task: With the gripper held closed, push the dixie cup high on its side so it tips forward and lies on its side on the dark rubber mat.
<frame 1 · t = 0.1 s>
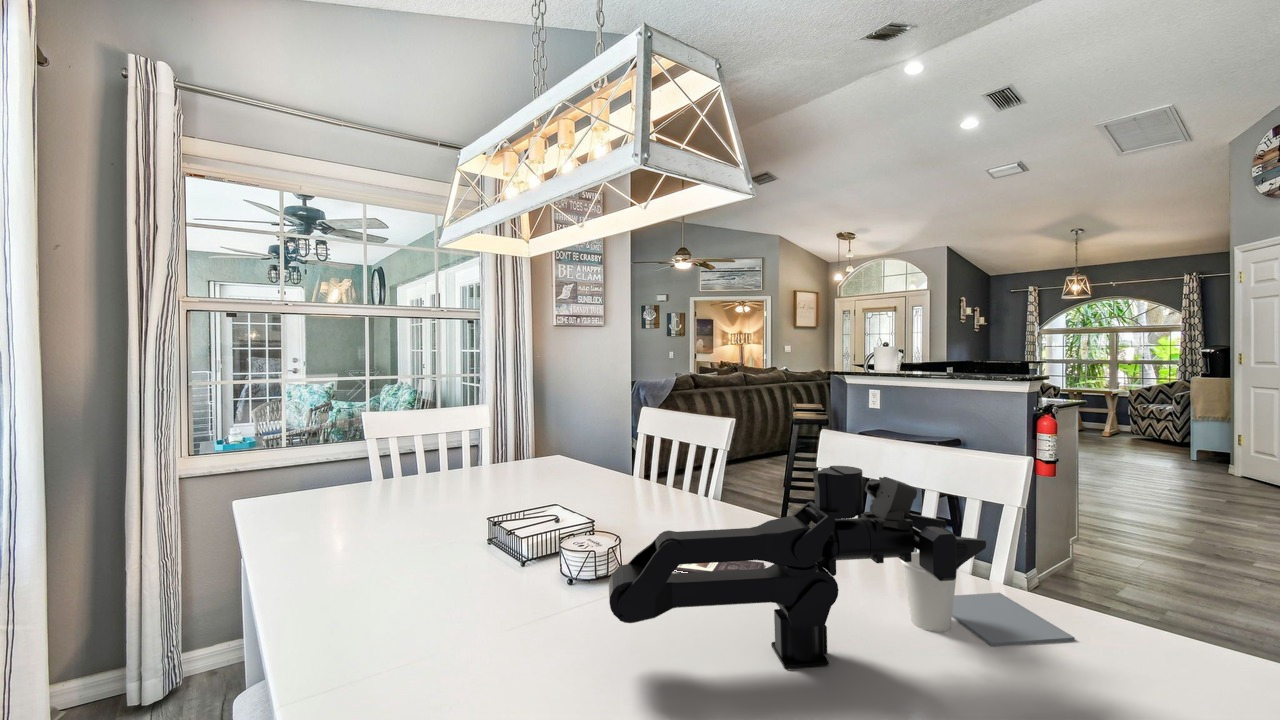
hand: (964, 533, 85), 17 cm above the table, tool horizontal, fingers open, 9 cm apart
dixie cup: (930, 624, 92), on the table
chocolate bar: (716, 571, 118), on the table
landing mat: (995, 618, 93), on the table
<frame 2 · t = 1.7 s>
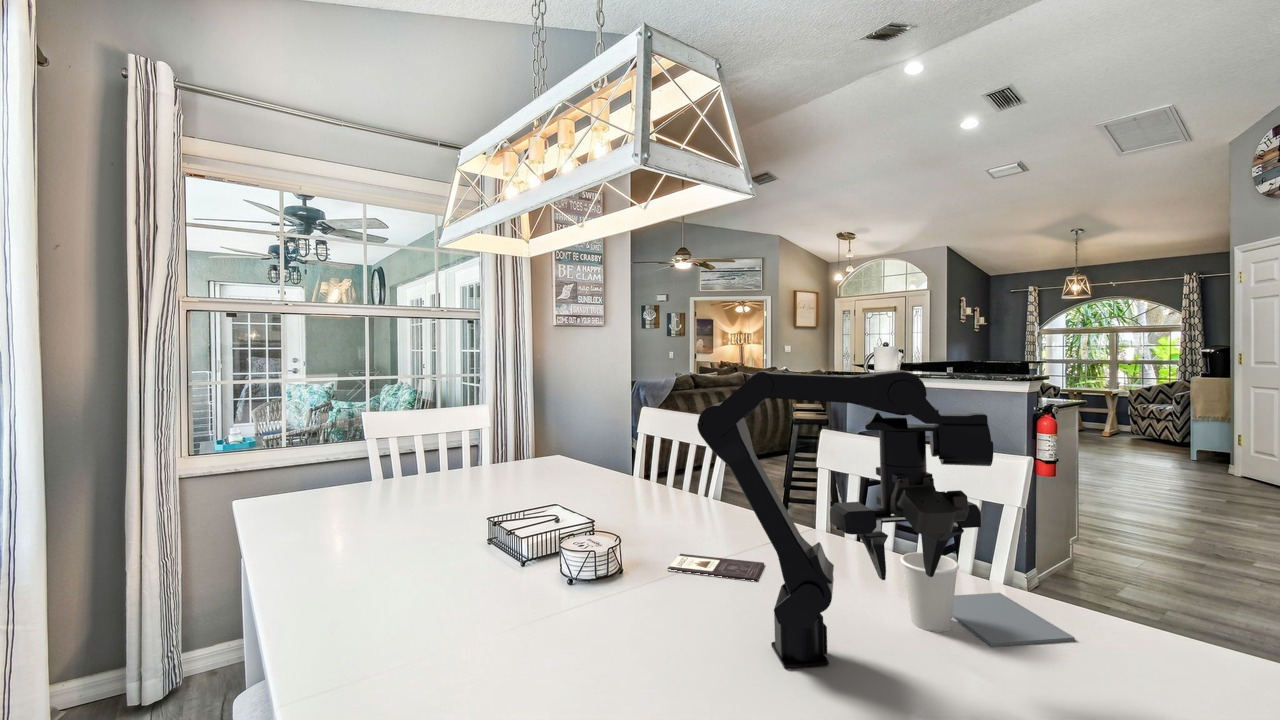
hand: (905, 577, 78), 13 cm above the table, tool pointing down, fingers open, 6 cm apart
nothing on the table moved.
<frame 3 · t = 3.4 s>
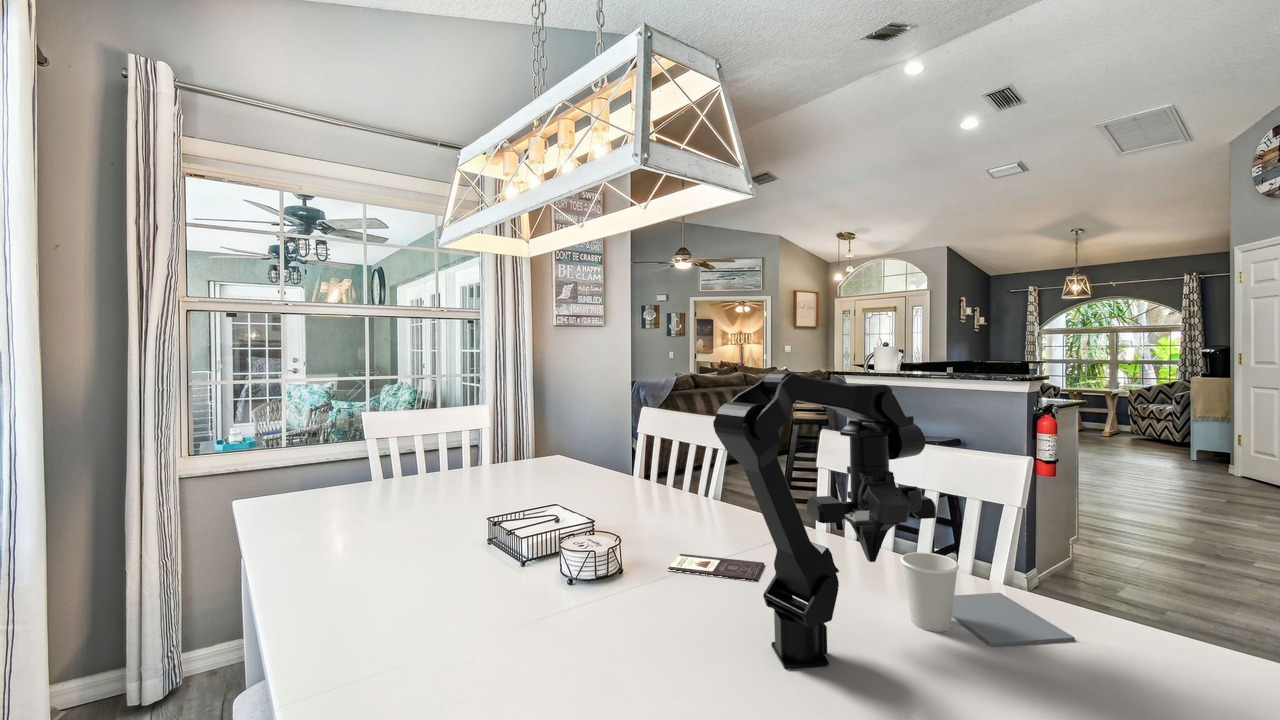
hand: (871, 561, 91), 10 cm above the table, tool pointing down, fingers closed
nothing on the table moved.
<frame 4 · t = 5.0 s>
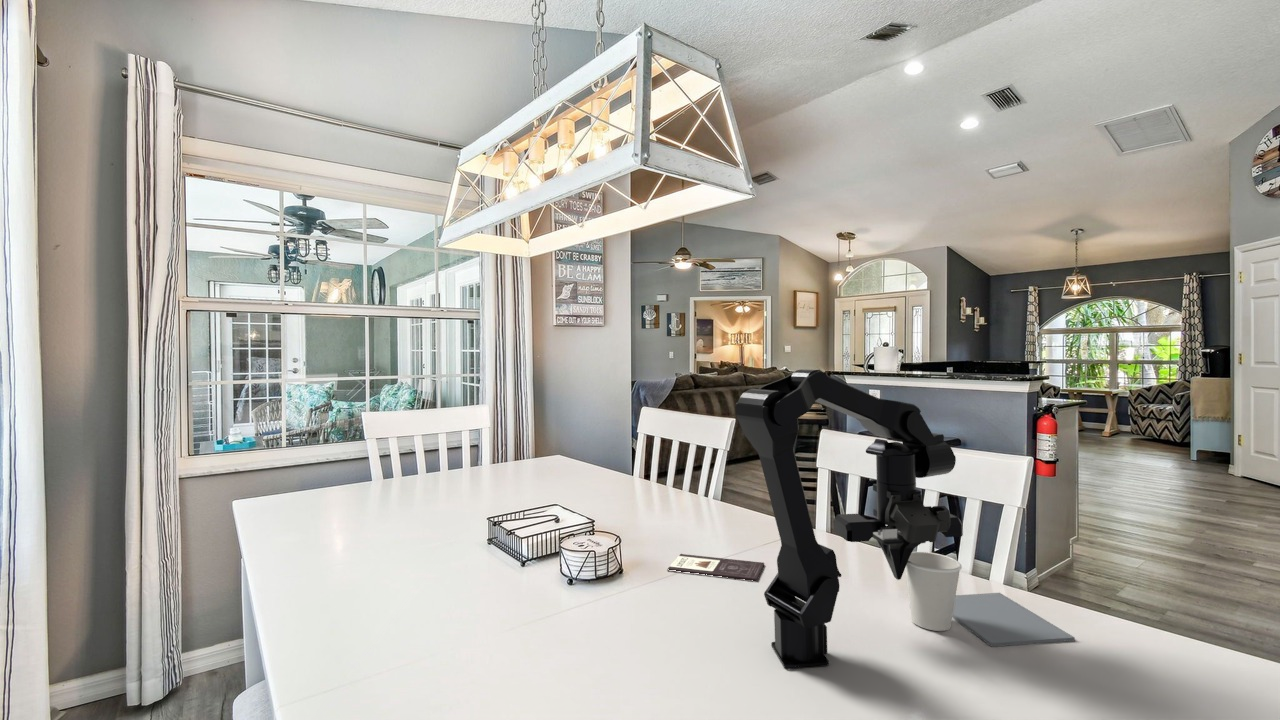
hand: (897, 578, 92), 7 cm above the table, tool pointing down, fingers closed
dixie cup: (930, 623, 92), on the table, touching gripper
everything else where it was.
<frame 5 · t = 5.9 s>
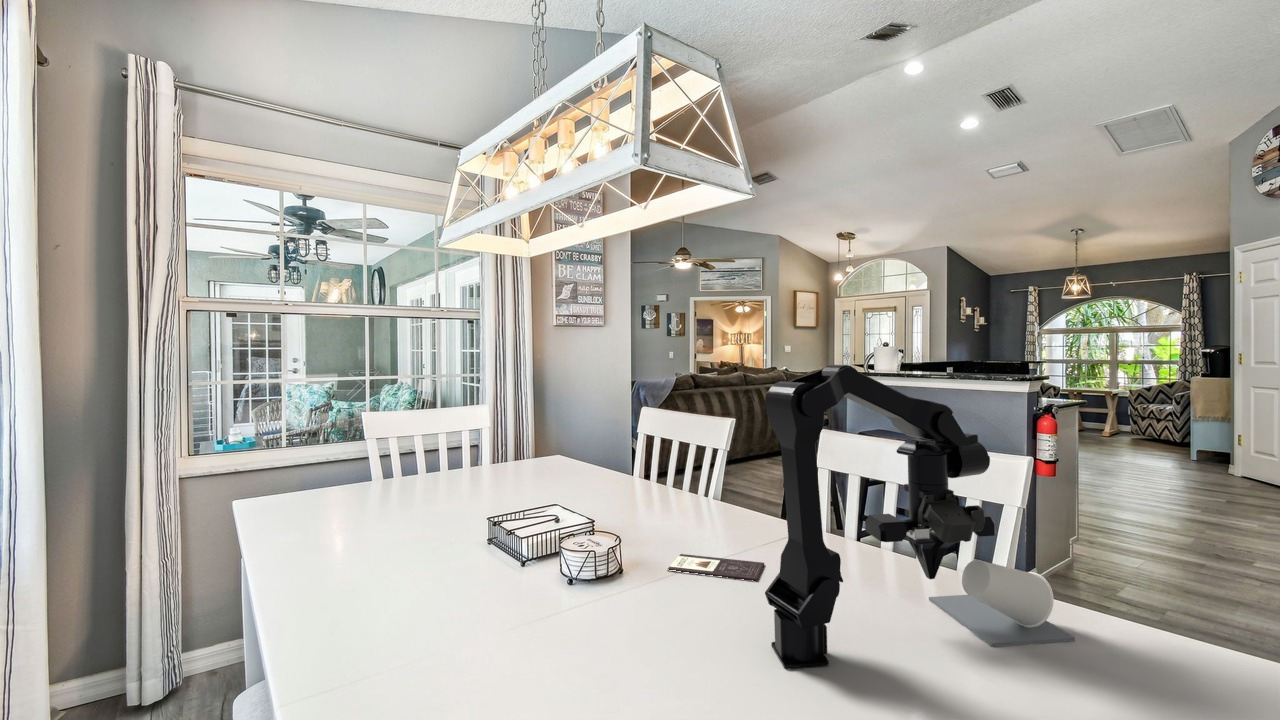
hand: (930, 578, 92), 7 cm above the table, tool pointing down, fingers closed
dixie cup: (974, 577, 89), point 8 cm above the table, touching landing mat
everything else where it was.
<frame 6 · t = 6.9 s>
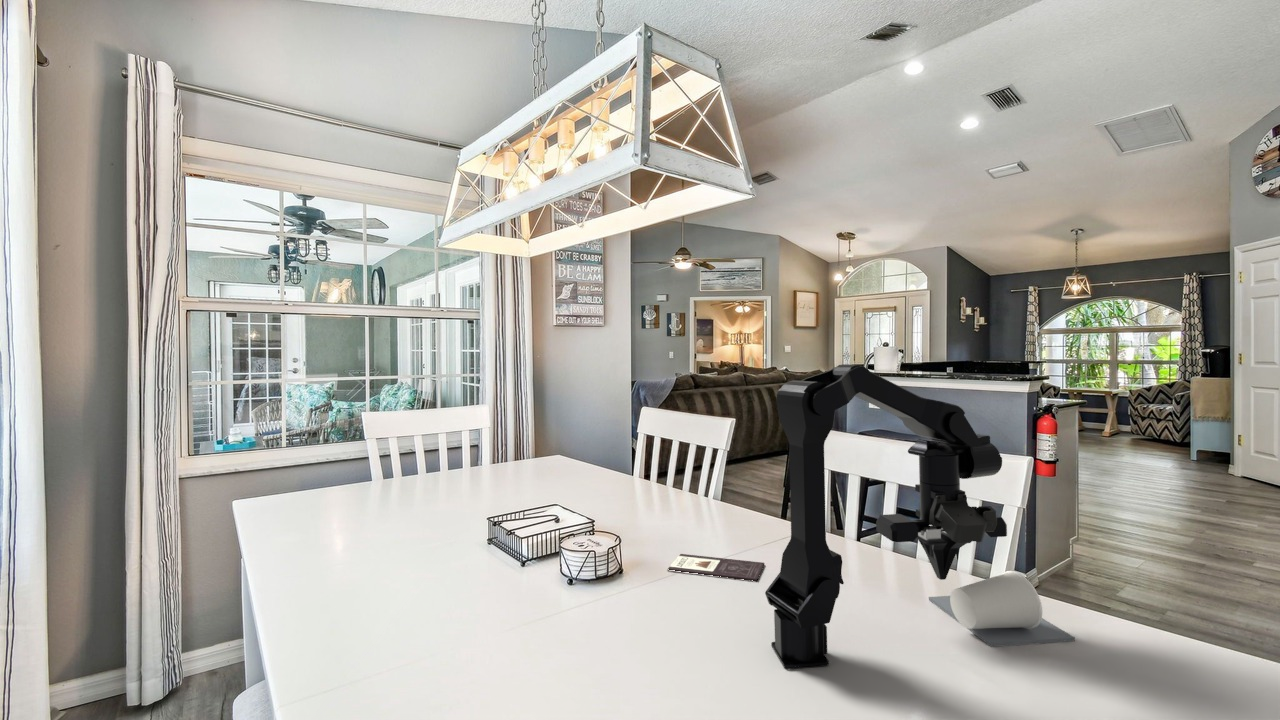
hand: (941, 578, 92), 7 cm above the table, tool pointing down, fingers closed
dixie cup: (961, 608, 88), point 4 cm above the table, touching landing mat
everything else where it was.
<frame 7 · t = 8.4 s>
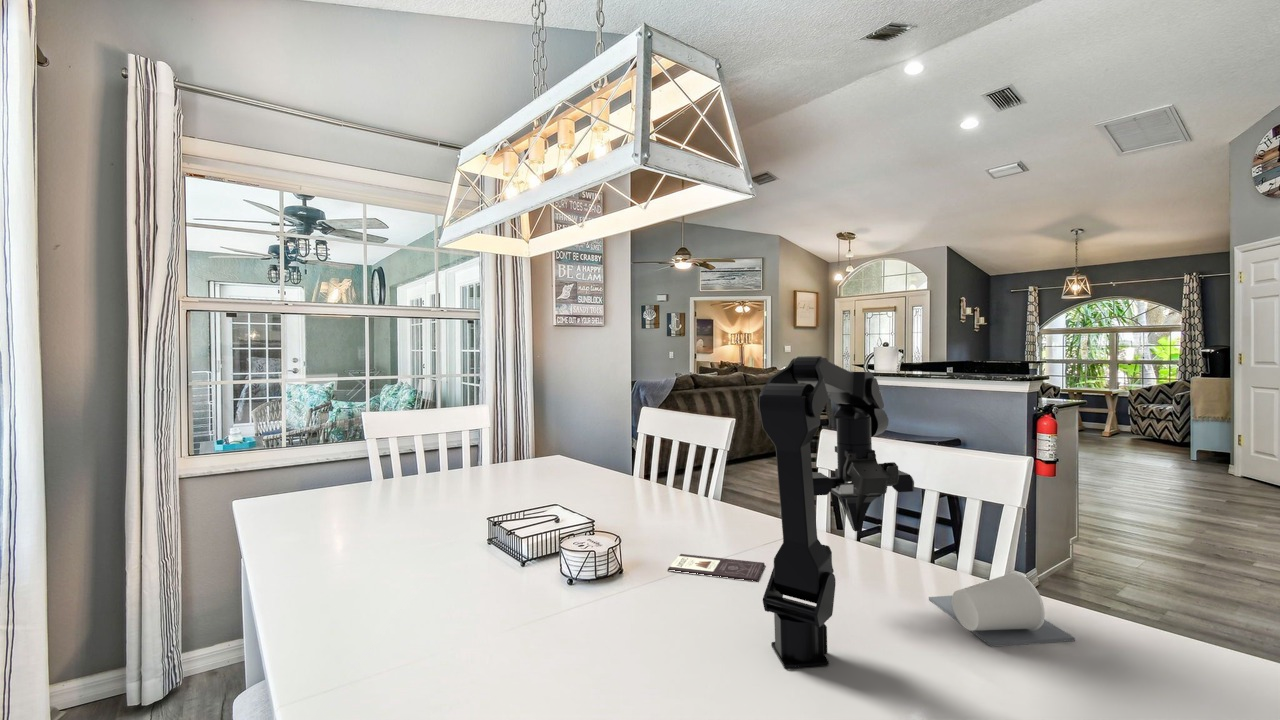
hand: (856, 530, 102), 12 cm above the table, tool pointing down, fingers closed
nothing on the table moved.
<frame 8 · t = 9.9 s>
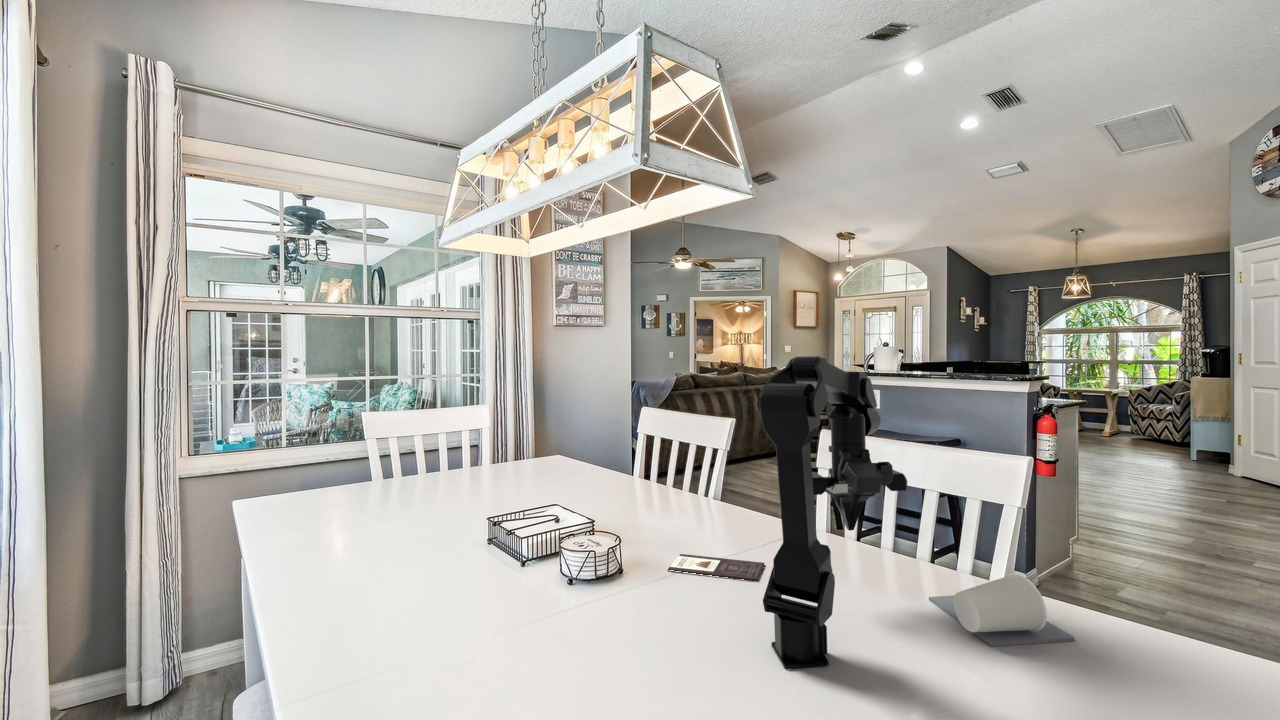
hand: (850, 529, 102), 12 cm above the table, tool pointing down, fingers closed
nothing on the table moved.
at the end: dixie cup tilted 87°; dixie cup inside the target area (7.1 cm from its centre), point 4.0 cm above the table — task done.
